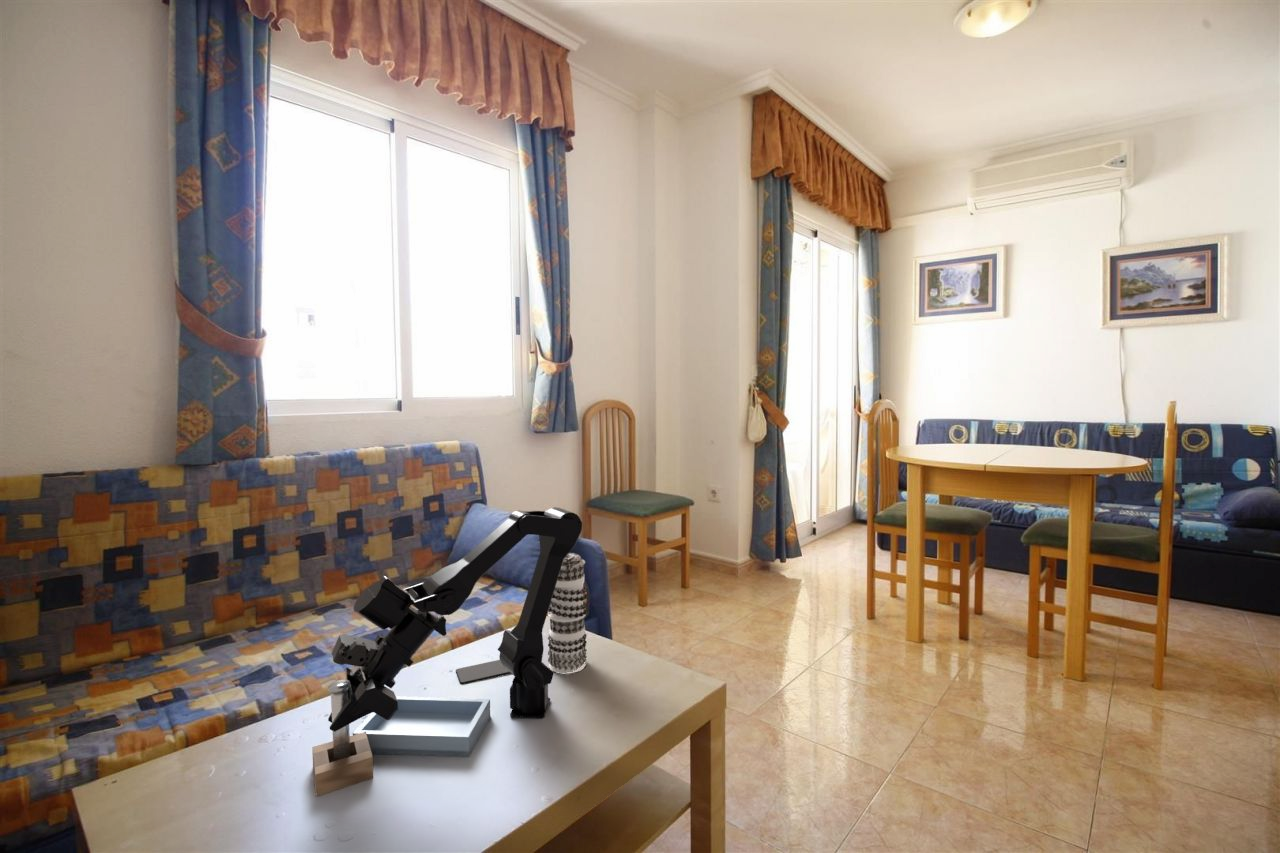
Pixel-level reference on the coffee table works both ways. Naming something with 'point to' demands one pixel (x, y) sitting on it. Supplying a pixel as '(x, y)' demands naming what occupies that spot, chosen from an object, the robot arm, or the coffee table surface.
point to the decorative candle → (568, 617)
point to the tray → (428, 727)
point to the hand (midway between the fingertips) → (331, 725)
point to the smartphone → (481, 672)
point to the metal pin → (337, 702)
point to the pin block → (342, 765)
